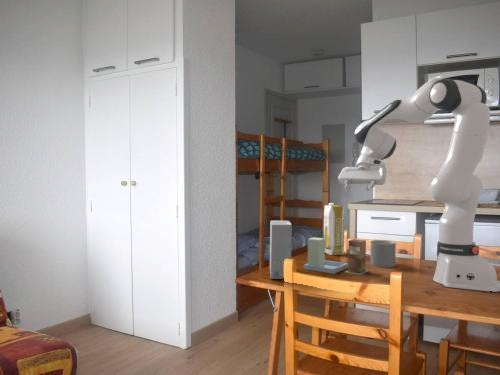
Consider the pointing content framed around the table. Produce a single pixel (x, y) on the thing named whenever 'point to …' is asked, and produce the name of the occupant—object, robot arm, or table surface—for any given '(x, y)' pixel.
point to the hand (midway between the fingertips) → (357, 189)
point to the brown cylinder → (357, 256)
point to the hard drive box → (279, 246)
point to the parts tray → (328, 267)
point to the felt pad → (356, 273)
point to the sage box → (316, 252)
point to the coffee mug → (382, 253)
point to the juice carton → (334, 229)
